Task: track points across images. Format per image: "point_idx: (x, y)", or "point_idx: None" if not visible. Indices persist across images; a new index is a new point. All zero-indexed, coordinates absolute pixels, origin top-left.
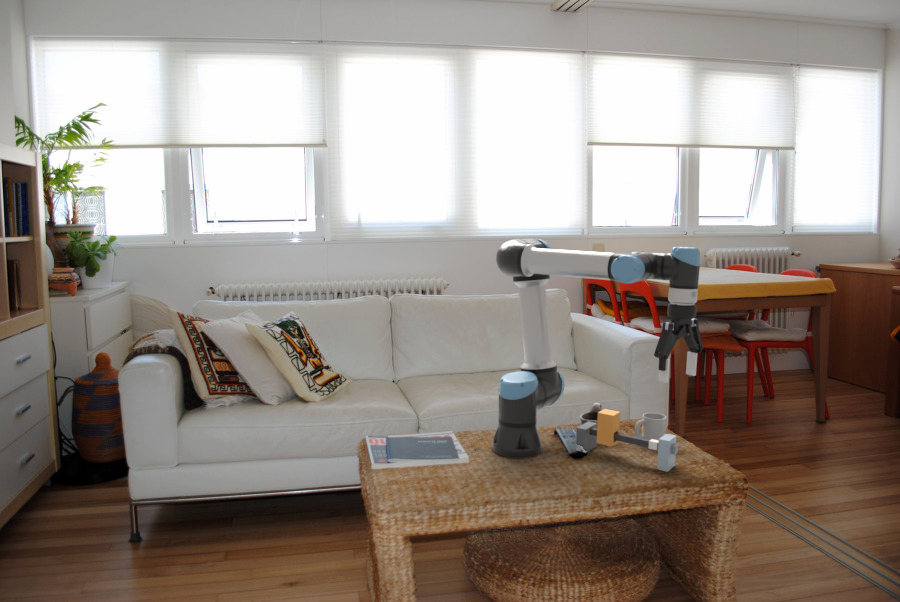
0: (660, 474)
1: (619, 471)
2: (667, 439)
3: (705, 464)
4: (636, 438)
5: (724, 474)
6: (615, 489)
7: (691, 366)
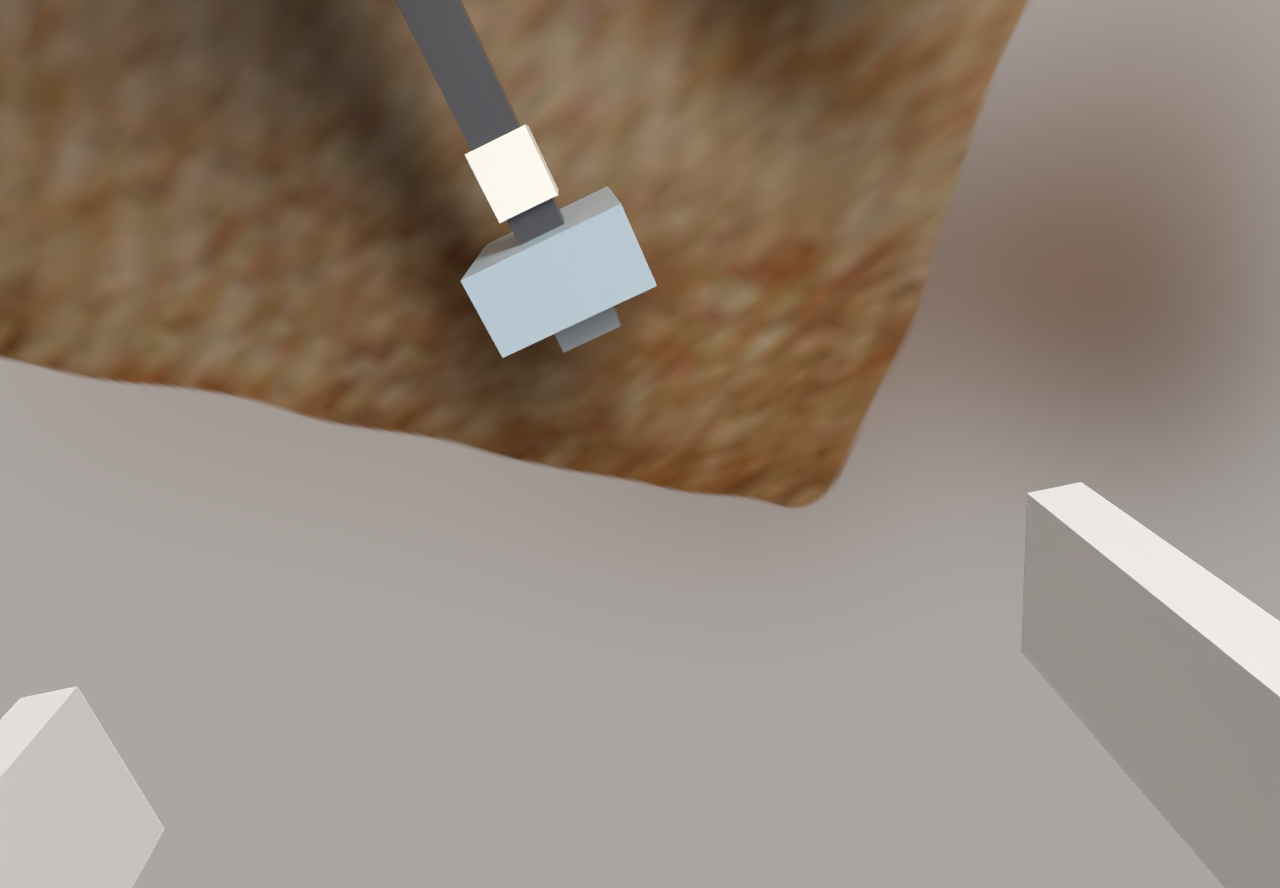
0: (449, 312)
1: (223, 150)
2: (520, 321)
3: (816, 318)
4: (422, 28)
5: (776, 466)
6: (41, 363)
7: (1151, 718)
